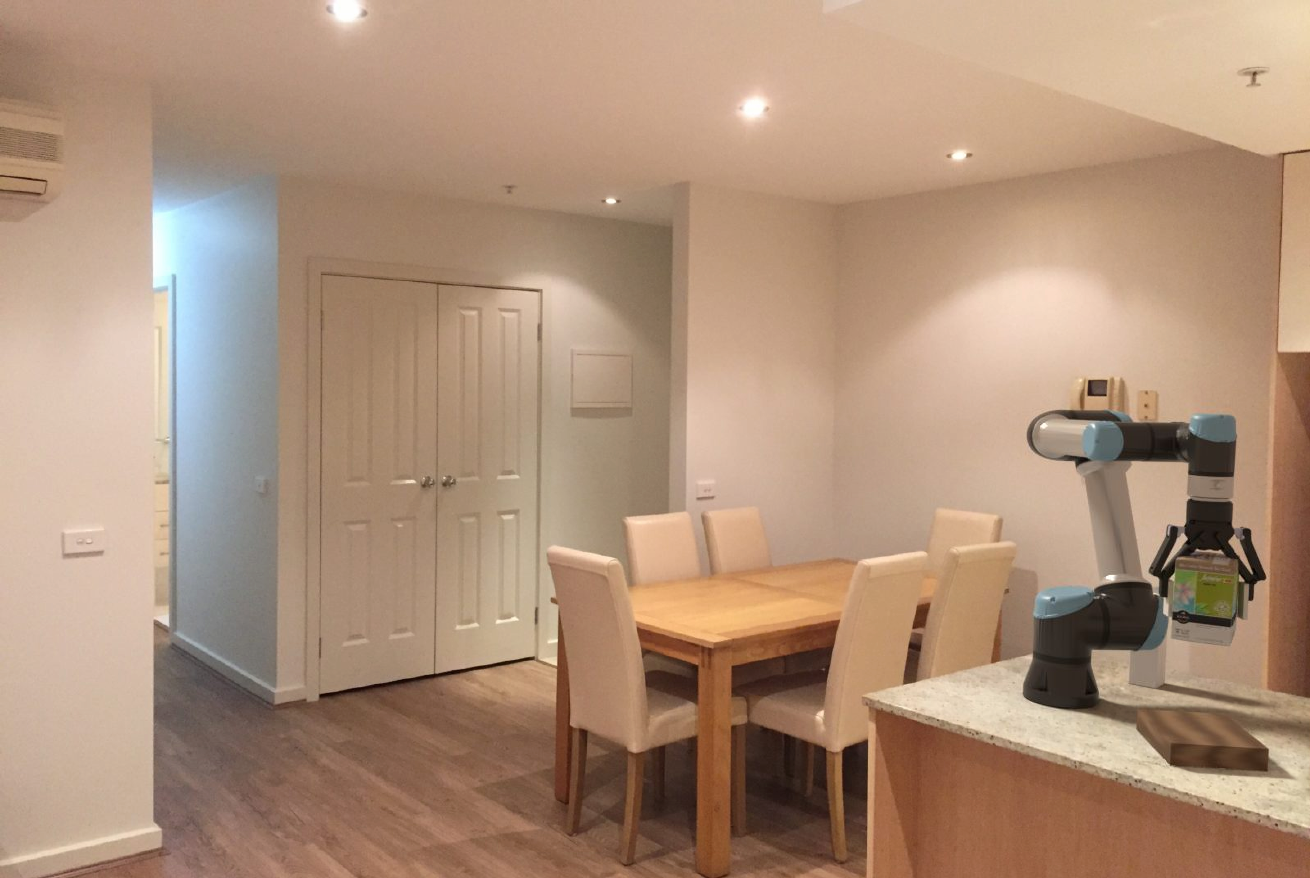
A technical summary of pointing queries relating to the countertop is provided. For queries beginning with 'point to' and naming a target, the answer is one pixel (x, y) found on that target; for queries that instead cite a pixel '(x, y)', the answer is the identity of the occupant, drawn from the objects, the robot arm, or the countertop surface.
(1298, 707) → the countertop surface
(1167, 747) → the walnut plinth
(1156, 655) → the milk
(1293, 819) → the countertop surface
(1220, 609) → the tea box
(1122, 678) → the countertop surface
